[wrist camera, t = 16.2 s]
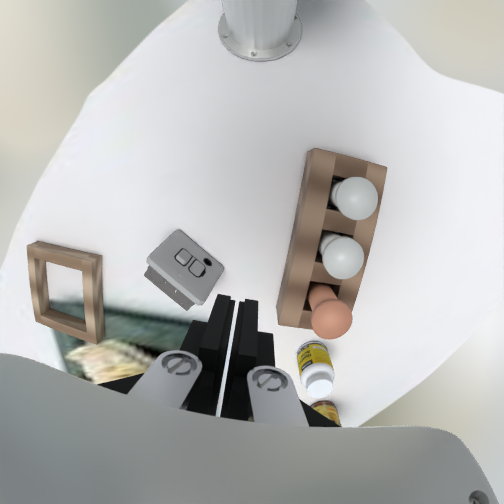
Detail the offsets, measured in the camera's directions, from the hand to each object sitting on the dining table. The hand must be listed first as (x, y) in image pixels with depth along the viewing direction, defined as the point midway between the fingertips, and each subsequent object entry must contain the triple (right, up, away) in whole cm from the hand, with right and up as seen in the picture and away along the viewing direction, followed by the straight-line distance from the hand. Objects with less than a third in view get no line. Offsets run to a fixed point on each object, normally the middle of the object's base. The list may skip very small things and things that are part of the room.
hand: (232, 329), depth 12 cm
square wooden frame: (-34, -4, +34) cm, 48 cm away
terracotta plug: (+10, -2, +30) cm, 32 cm away
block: (+12, +5, +30) cm, 33 cm away
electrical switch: (-8, +2, +32) cm, 33 cm away
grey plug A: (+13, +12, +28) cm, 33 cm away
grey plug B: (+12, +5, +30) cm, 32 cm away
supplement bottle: (+11, -14, +36) cm, 40 cm away
